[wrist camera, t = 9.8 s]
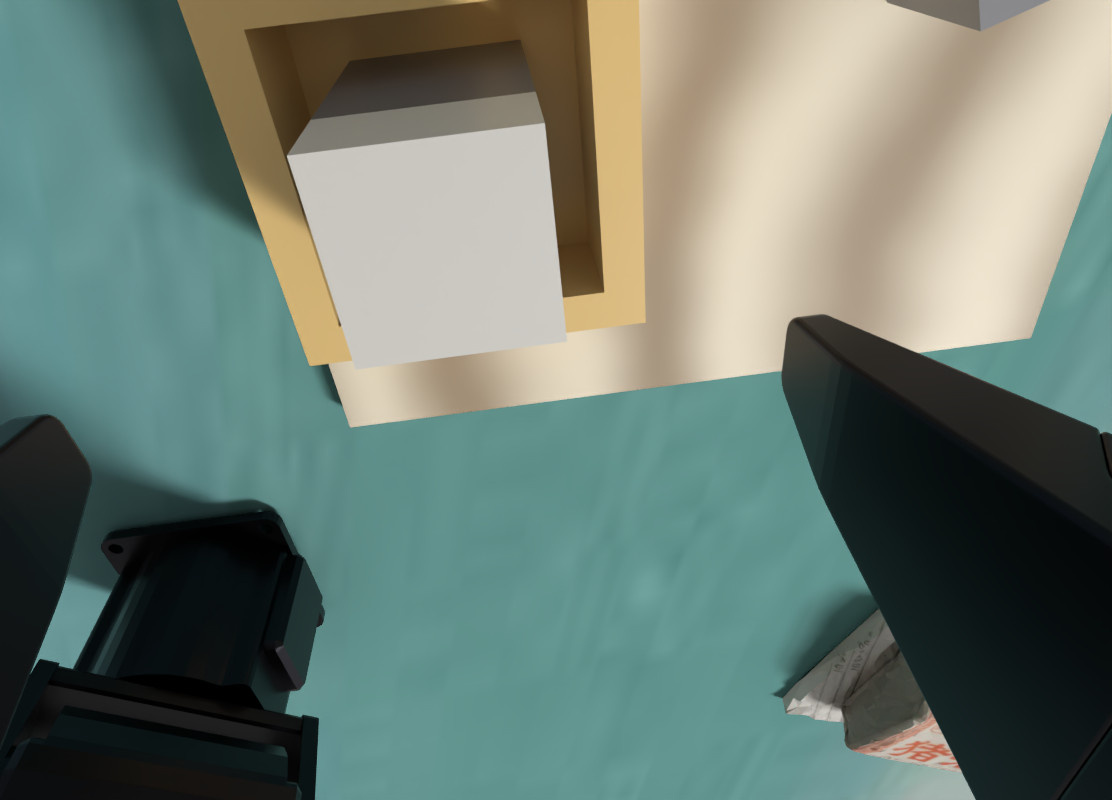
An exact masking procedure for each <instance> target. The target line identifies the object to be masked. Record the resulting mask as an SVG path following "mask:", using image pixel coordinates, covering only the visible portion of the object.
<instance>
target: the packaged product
mask: <svg viewBox="0 0 1112 800" xmlns="http://www.w3.org/2000/svg"><path fill="white" fill-rule="evenodd" d="M783 702H784V707H785V711H786V714H798V715H801V714H802V715H808V716H810V717H812V718H813V719H817V720H827V721H834V722H843V723H844V731H845V740H844V741H845V743H846V746H847V747H848V748H850V749H851V750H853V751H855V752H860V753H863V754H866V755H872V756H876V757H883V758H886V759H890V760H896V761H901V762H909V763H914V764H916V765H925V766H929V767H933V768H939V769H944V770H950V771H954V772H960V773H962V771H961V769H960V768H959V766H958V764H957V762H956V760H955V758H954V756H953V754H952V752H951V750H950V748H949V746H948V744H947V742H946V740H945V738H944V736H943V734H942V732H941V730H940V728H939V726H938V724H937V722H936V720H935V718H934V716H933V714H932V712H931V710H930V708H929V706H928V704H927V702H926V700H925V698H924V697H923V695H922V693H921V691H920V689H919V687H918V685H917V683H916V681H915V679H914V677H913V675H912V673H911V671H910V669H909V667H908V665H907V663H906V661H905V659H904V657H903V655H902V653H901V651H900V649H899V647H898V645H897V643H896V641H895V639H894V637H893V635H892V633H891V631H890V629H889V627H888V625H887V624H886V622H885V620H884V618H883V616H882V614H881V612H880V610H879V609H878V610H877V611H875V612H874V613H873V614H872V615H871V616H870V617H869V618H868V619H867V620H866V621H864V622H863V623H862V624H861V625H860V626H859V627H858V628H857V629H856V630H855V631H854V632H853V633H851V634H850V635H849V636H848V637H847V638H846V639H845V640H843V641H842V642H841V643H840V644H839V645H838V646H837V647H835V648H834V649H833V650H832V651H831V652H830V653H829V654H828V655H827V656H826V657H825V658H824V659H823V660H822V661H821V662H820V663H819V664H818V665H816V666H815V667H814V668H813V669H812V670H811V671H810V672H809V673H808V674H807V675H806V676H805V677H804V678H802V679H801V680H800V681H798V682H797V683H796V684H795V685H794V686H793V687H792V689H791V690H790V691H789V692H788V693H787V694H786V695H785V696H784V697H783Z"/></svg>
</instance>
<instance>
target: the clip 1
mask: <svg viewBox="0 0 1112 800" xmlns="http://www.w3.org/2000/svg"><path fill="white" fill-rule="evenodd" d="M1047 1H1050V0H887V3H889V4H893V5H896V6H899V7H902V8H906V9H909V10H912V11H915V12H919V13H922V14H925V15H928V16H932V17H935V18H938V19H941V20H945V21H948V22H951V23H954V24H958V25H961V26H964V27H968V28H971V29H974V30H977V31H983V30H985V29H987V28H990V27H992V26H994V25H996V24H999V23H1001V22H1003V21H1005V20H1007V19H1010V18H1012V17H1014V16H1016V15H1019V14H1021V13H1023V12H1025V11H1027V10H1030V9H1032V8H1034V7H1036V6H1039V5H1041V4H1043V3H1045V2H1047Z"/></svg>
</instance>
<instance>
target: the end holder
mask: <svg viewBox="0 0 1112 800" xmlns="http://www.w3.org/2000/svg"><path fill="white" fill-rule="evenodd" d="M177 1H178V3H179V6H180V9H181V12H182V14H183V17H184V20H185V23H186V25H187V28H188V31H189V34H190V36H191V39H192V42H193V45H194V47H195V50H196V53H197V56H198V58H199V61H200V64H201V67H202V70H203V72H204V75H205V78H206V81H207V83H208V86H209V89H210V92H211V94H212V97H213V100H214V103H215V105H216V108H217V111H218V114H219V116H220V119H221V122H222V125H223V127H224V130H225V133H226V136H227V139H228V141H229V144H230V147H231V150H232V152H233V155H234V158H235V161H236V163H237V166H238V169H239V172H240V174H241V177H242V180H243V183H244V185H245V188H246V191H247V194H248V196H249V199H250V202H251V205H252V208H253V210H254V213H255V216H256V219H257V221H258V224H259V227H260V230H261V232H262V235H263V238H264V241H265V243H266V246H267V249H268V252H269V254H270V257H271V260H272V263H273V265H274V268H275V271H276V274H277V277H278V279H279V282H280V285H281V288H282V290H283V293H284V296H285V299H286V301H287V304H288V307H289V310H290V312H291V315H292V318H293V321H294V323H295V326H296V329H297V332H298V334H299V337H300V340H301V343H302V346H303V348H304V351H305V354H306V357H307V359H308V362H309V365H310V366H315V365H322V364H330V363H338V362H345V361H353V360H352V357H351V354H350V351H349V348H348V345H347V342H346V339H345V336H344V332H343V329H342V326H341V323H340V320H339V317H338V314H337V311H336V307H335V304H334V301H333V298H332V295H331V292H330V289H329V286H328V283H327V279H326V276H325V273H324V270H323V267H322V264H321V261H320V258H319V254H318V251H317V248H316V245H315V242H314V239H313V236H312V233H311V230H310V226H309V223H308V220H307V217H306V214H305V211H304V208H303V205H302V201H301V198H300V195H299V192H298V189H297V186H296V183H295V180H294V177H293V173H292V170H291V167H290V164H289V161H288V158H287V155H288V153H289V152H290V150H291V149H292V147H293V146H294V144H295V143H296V141H297V140H298V138H299V137H300V135H301V134H302V132H303V131H304V129H305V128H306V126H307V125H308V123H309V122H310V120H311V119H312V117H313V116H314V114H315V112H316V111H317V109H318V108H319V106H320V105H321V103H322V102H323V100H324V99H325V97H326V96H327V94H328V93H329V91H330V90H331V88H332V87H333V85H334V84H335V82H336V81H337V79H338V78H339V76H340V75H341V73H342V72H343V70H344V69H345V67H346V66H347V64H348V63H349V61H352V60H360V59H368V58H376V57H384V56H392V55H401V54H409V53H417V52H425V51H433V50H441V49H449V48H457V47H465V46H473V45H481V44H489V43H497V42H505V41H513V40H521V43H522V47H523V50H524V53H525V57H526V60H527V64H528V67H529V71H530V74H531V77H532V81H533V84H534V88H535V91H536V94H537V98H538V101H539V105H540V108H541V112H542V115H543V118H544V122H545V129H546V139H547V149H548V159H549V169H550V178H551V188H552V198H553V208H554V218H555V227H556V237H557V247H558V257H559V267H560V277H561V286H562V296H563V306H564V316H565V326H566V333H569V332H577V331H584V330H592V329H600V328H608V327H615V326H623V325H631V324H638V323H646V318H645V268H644V219H643V170H642V120H641V71H640V22H639V0H177Z"/></svg>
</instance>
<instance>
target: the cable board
mask: <svg viewBox="0 0 1112 800" xmlns="http://www.w3.org/2000/svg"><path fill="white" fill-rule="evenodd" d="M639 22H640V71H641V120H642V170H643V219H644V268H645V318H646V323H638V324H631V325H623V326H615V327H608V328H600V329H592V330H584V331H577V332H569V333H566V335H567V342H561V343H553V344H545V345H538V346H530V347H523V348H515V349H508V350H500V351H493V352H485V353H477V354H470V355H462V356H455V357H447V358H440V359H432V360H425V361H417V362H410V363H402V364H394V365H387V366H379V367H372V368H364V369H357V370H355V367H354V364H353V361H345V362H338V363H330V364H329V367H330V370H331V373H332V376H333V379H334V382H335V385H336V388H337V390H338V393H339V396H340V399H341V402H342V405H343V408H344V411H345V414H346V417H347V420H348V423H349V425H350V427H358V426H365V425H373V424H380V423H388V422H396V421H403V420H411V419H418V418H426V417H434V416H441V415H449V414H456V413H464V412H472V411H479V410H487V409H494V408H502V407H510V406H517V405H525V404H532V403H540V402H548V401H555V400H563V399H570V398H578V397H586V396H593V395H601V394H608V393H616V392H624V391H631V390H639V389H646V388H654V387H662V386H669V385H677V384H684V383H692V382H700V381H707V380H715V379H722V378H730V377H738V376H745V375H753V374H760V373H768V372H776V371H782V365H783V357H784V348H785V340H786V332H787V327H788V324H789V322H790V321H791V320H792V319H793V318H795V317H801V316H809V315H816V314H826V315H828V316H831V317H833V318H836V319H838V320H840V321H843V322H845V323H848V324H850V325H852V326H855V327H857V328H859V329H862V330H864V331H867V332H869V333H871V334H874V335H876V336H878V337H881V338H883V339H886V340H888V341H890V342H893V343H895V344H898V345H900V346H902V347H905V348H907V349H909V350H912V351H914V352H917V353H920V352H928V351H935V350H943V349H951V348H958V347H966V346H973V345H981V344H989V343H996V342H1004V341H1011V340H1019V339H1027V338H1031V335H1032V333H1033V330H1034V327H1035V324H1036V322H1037V319H1038V316H1039V313H1040V310H1041V308H1042V305H1043V302H1044V299H1045V297H1046V294H1047V291H1048V288H1049V285H1050V283H1051V280H1052V277H1053V274H1054V272H1055V269H1056V266H1057V263H1058V260H1059V258H1060V255H1061V252H1062V249H1063V247H1064V244H1065V241H1066V238H1067V235H1068V233H1069V230H1070V227H1071V224H1072V222H1073V219H1074V216H1075V213H1076V210H1077V208H1078V205H1079V202H1080V199H1081V197H1082V194H1083V191H1084V188H1085V185H1086V183H1087V180H1088V177H1089V174H1090V171H1091V169H1092V166H1093V163H1094V160H1095V158H1096V155H1097V152H1098V149H1099V146H1100V144H1101V141H1102V138H1103V135H1104V133H1105V130H1106V127H1107V124H1108V121H1109V119H1110V116H1111V113H1112V0H1050V1H1047V2H1045V3H1043V4H1041V5H1039V6H1036V7H1034V8H1032V9H1030V10H1027V11H1025V12H1023V13H1021V14H1019V15H1016V16H1014V17H1012V18H1010V19H1007V20H1005V21H1003V22H1001V23H999V24H996V25H994V26H992V27H990V28H987V29H985V30H983V31H977V30H974V29H971V28H968V27H964V26H961V25H958V24H954V23H951V22H948V21H945V20H941V19H938V18H935V17H932V16H928V15H925V14H922V13H919V12H915V11H912V10H909V9H906V8H902V7H899V6H896V5H893V4H889V3H887V0H639Z"/></svg>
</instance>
